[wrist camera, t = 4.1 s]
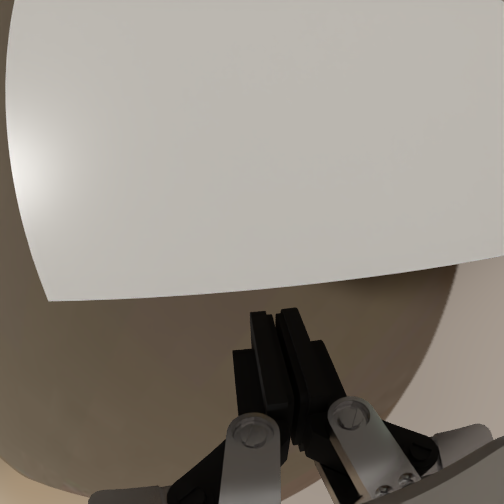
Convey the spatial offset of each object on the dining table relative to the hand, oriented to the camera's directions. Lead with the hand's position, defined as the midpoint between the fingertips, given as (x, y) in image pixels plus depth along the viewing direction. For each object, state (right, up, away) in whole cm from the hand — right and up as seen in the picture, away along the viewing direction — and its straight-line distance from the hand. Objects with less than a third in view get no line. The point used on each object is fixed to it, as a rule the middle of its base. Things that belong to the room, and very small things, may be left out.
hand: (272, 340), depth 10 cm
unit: (-1, +9, +1) cm, 9 cm away
